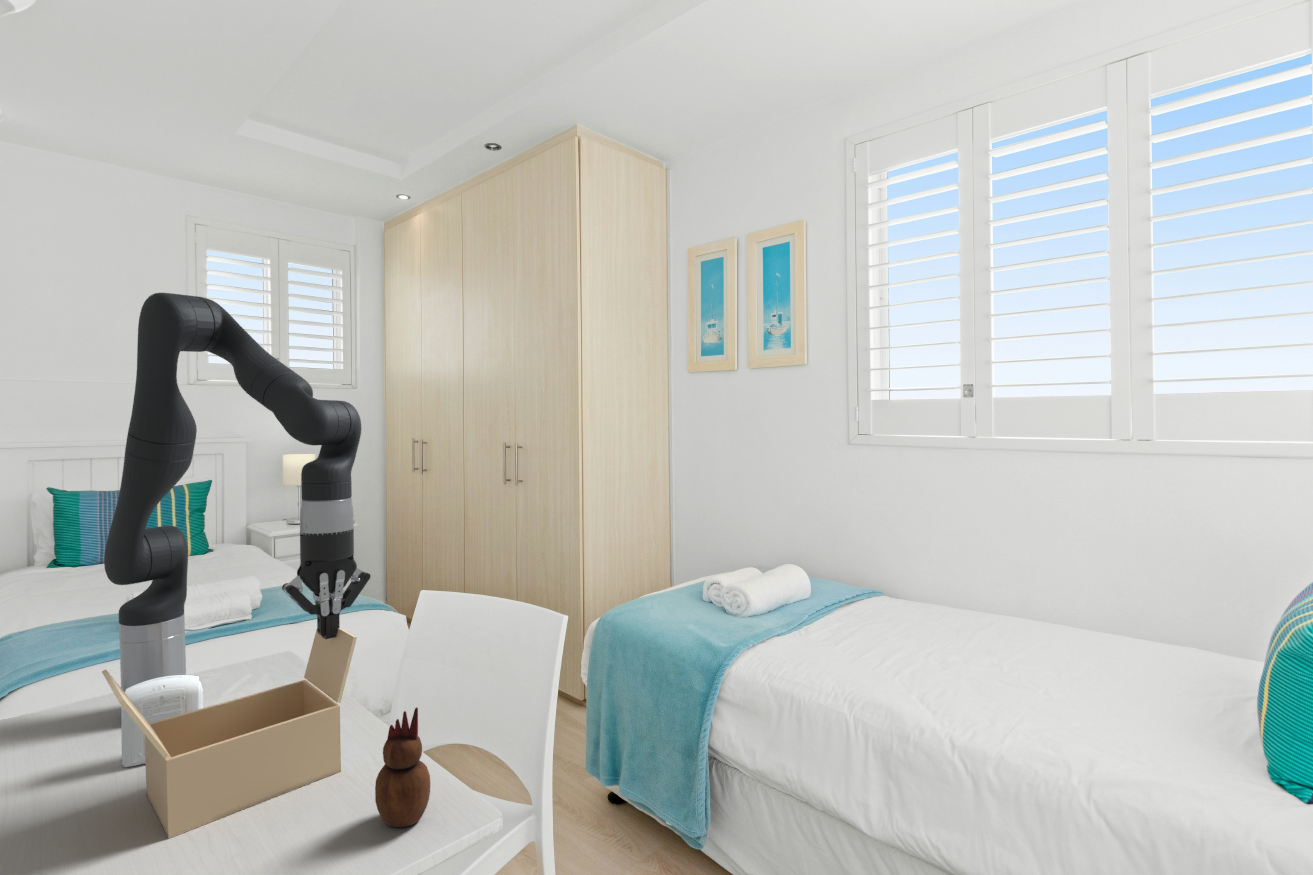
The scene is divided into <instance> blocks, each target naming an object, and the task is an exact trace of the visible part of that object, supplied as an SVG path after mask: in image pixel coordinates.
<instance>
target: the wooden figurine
mask: <svg viewBox="0 0 1313 875" xmlns="http://www.w3.org/2000/svg"><path fill="white" fill-rule="evenodd" d="M409 724H410V726H409ZM386 738H387V739H386V741H385V743H384V744H383V747H382V759H383V762H384V765H383V766H382V768H381V769H380V770H379V772H378V774H377V777H376V780H375V784H374V785H375V787H374V789H375V790H374V791H375V794H374V795H375V796H374V798H375V800H374V802H375V805H376V809H377V811H378V814H379V816H380V818H381V819H382V821H383V822H384V823H385V824H387V825H388V826H391V827H393V828H405V827H410V826H412V825H415V824H416V823H417V822H418V821H420V820H421V819H422V818H423V815H424V814H425V811H426V809H427V808H428V804H429V801H430V794H431V775H430V772H429V769H428V766H427V765H426V764H425V762H423V761H421V757H422V755H423V754H422V753H423V744H422V741H421V738H420V736H419V708H418V707H414V711H413V714H412V719H411V722H410V723H409V719H408V715H407V711H406V710H404V711H403V713H402V720H401V723H400V719H399V718H397V719H395V725H393V724H390V726H389V729H388V733H387V737H386Z"/></svg>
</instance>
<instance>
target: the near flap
mask: <svg viewBox="0 0 1313 875" xmlns="http://www.w3.org/2000/svg"><path fill="white" fill-rule="evenodd" d="M101 673H102V675H103V677H104V679H105V680H106V682H107V684H108V686H109V687H110V689H111V691H112V692H113V695H114V696H115V698H116V701H117V702H118V703H119V705H120V707H121V706H122V707H123V708H124V709H125V711H126V712H127V713H128V714H129V716H130V717H131V718H132V719H133V720H134V722H135V723H136V724H137V725H138V727H139V728H140V729H141V730H142V732H143V733H144V734H145V735H146V736H147V738H148V739H149V740H150V741H151V743H152V744H153V745H154V746H155V748H156V749H157V750H158V751H159V753H160V754H161V755H162V756H163V757H164V759H165V758H166V757H168V756H169V755H168V753H167V752H166V750H165V749H164V747H163V745H162V744H161V742H160V741H159V739H158V737H157V736H156V734H155V733H154V731H153V729H152V728H151V726H150V724H149V723H148V721H147V720H146V719H145V717H144V716H143V715H142V714H141V712H140V711H139V710H138V709H137V707H136V706H135V705H134V704H133V702H132V701H131V700H130V699H129V697H128V696H127V695H126V694H125V692H124V691H123V690H122V689H121V685H119V684H118V683H117V680H115V679H114V677H113V676H112V675H111V674H110V672H109V671H108V670H107V669H103V670H102V671H101Z"/></svg>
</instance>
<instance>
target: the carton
mask: <svg viewBox="0 0 1313 875" xmlns="http://www.w3.org/2000/svg"><path fill="white" fill-rule="evenodd" d="M149 724H150V726H151V728H152V729H153V731H154V733H155V734H156V736H157V737H158V739H159V741H160V742H161V744H162V745H163V747H164V749H165V750H166V752H167V753H168V755H169V756H168V757H166V758H165V759H164V757H163V756H162V755H161V754H160V753H159V751H158V750H157V749H156V748H155V746H154V745H153V744H152V743H151V741H150V740H149V739H148V738H147V736H146V735H145V763H144V764H145V787H146V788H145V791H146V792H145V794H146V796H147V798H148V801H149V803H150V805H151V807H152V809H153V810H154V813H155V814H156V817H157V819H158V820H159V822H160V825H161V827H162V829H163V831H164V832H165V834H166V837H167V838H168V839H171V838H173V837H177V836H178V835H179V836H180V835H182V834H185V833H187V832H189V831H193V830H195V829H197V828H199V827H203V826H204V825H207V824H210V823H213V822H215V821H217V820H220V819H222V818H225V817H227V816H230V815H233V814H236V813H238V812H241V811H244V810H246V809H249V808H252V807H254V806H256V805H259V804H261V803H264V802H266V801H268V800H271V799H273V798H276V797H279V796H281V795H284V794H287V793H289V792H292V791H295V790H297V789H300V788H302V787H305V786H307V785H310V784H312V783H315V782H318V781H320V780H322V779H325V778H327V777H330V776H333V775H336V774H338V773H340V772H342V760H341V759H342V758H341V757H342V755H341V754H342V752H341V705H340V704H339V703H337V702H336V701H334V700H333V699H332V698H330V697H329V696H328V695H326V694H325V693H324V692H322V691H321V690H320V689H318V688H317V687H316V686H315V685H313V684H312V683H311V682H309V681H308V680H307V679H303V680H299V681H296V682H292V683H289V684H284V685H281V686H278V687H275V688H271V689H267V690H264V691H263V690H262V691H260V692H257V693H253V694H250V695H246V696H241V697H239V698H235V699H231V700H227V701H223V702H220V703H218V704H217V703H216V704H212V705H210V706H207V707H203V708H202V709H198V710H195V711H191V712H188V713H184V714H181V715H177V716H173V717H170V718H166V719H163V720H159V721H155V722H152V723H149Z"/></svg>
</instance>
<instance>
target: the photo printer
mask: <svg viewBox="0 0 1313 875" xmlns="http://www.w3.org/2000/svg"><path fill="white" fill-rule="evenodd" d="M125 694H126V695H127V696H128V697H129V699H130V700H131V701H132V702H133V704H134V705H135V706H136V707H137V709H138V710H139V711H140V712H141V714H142V715H143V716H144V717H145V719H146V720H147V721H148V723H152V722H155V721H159V720H163V719H166V718H170V717H173V716H177V715H181V714H184V713H188V712H191V711H195V710H198V709H202V708H204V690H203V685H202V682H201V681H200V676H198V675H191V674H190V675H189V674H186V675H174V676H165V677H160V678H155V679H151V680H148V681H145V682H142V683H139V684H136V685H134V686H132V687H129V688H127V689H126V691H125ZM120 708H121V710H120V711H121V712H120V713H121V714H120V715H121V716H120V721H121V726H120V728H121V734H120V735H121V766H123V767H124V768H129V767H135V766H138V765H139V766H140V765H142V764H145V734H144V733H143V732H142V730H141V729H140V728H139V727H138V725H137V724H136V723H135V722H134V720H133V719H132V718H131V717H130V716H129V714H128V713H127V712H126V711H125V709H124V708H123V707H122V706H121V705H120Z"/></svg>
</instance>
